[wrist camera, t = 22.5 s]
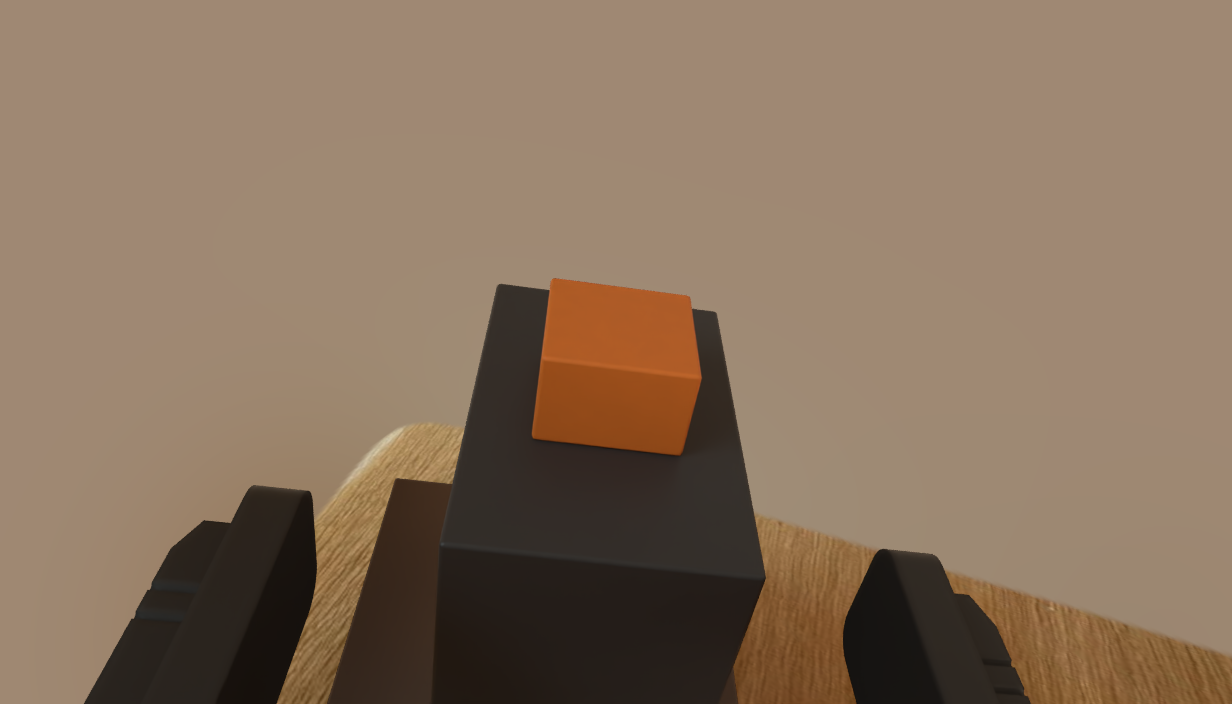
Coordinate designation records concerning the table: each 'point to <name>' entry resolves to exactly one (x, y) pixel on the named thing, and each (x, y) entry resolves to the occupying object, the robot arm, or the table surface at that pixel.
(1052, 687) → the table surface
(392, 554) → the shoe shelf
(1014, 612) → the table surface
